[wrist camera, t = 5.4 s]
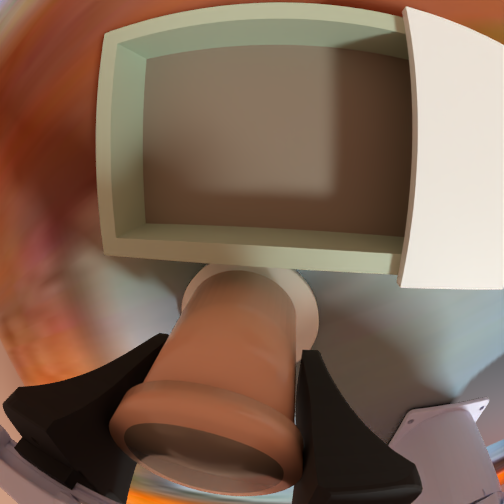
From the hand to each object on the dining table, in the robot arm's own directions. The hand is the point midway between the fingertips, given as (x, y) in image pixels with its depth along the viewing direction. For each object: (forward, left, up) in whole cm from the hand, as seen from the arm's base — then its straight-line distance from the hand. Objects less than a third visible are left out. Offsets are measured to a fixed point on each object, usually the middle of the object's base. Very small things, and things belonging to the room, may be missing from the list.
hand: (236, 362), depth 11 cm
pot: (+1, 0, -2) cm, 2 cm away
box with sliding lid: (+9, -2, -4) cm, 10 cm away
